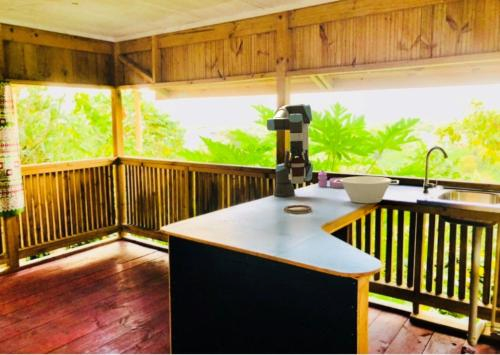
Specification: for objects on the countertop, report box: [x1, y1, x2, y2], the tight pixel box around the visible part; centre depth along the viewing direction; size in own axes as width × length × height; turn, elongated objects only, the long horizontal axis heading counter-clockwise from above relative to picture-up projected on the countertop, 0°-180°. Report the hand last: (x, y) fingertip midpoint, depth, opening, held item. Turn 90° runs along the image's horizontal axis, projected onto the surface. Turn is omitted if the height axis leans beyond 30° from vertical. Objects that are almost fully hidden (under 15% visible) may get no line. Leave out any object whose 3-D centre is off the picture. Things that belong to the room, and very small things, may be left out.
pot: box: [333, 175, 400, 205], centre depth 259 cm, size 40×32×14 cm
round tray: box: [283, 204, 313, 215], centre depth 239 cm, size 16×16×2 cm
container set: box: [317, 170, 345, 189], centre depth 322 cm, size 25×15×13 cm, turn 67°
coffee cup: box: [288, 156, 305, 185], centre depth 236 cm, size 10×10×15 cm
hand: (297, 178), depth 236 cm, fingers closed on coffee cup, 8 cm apart
